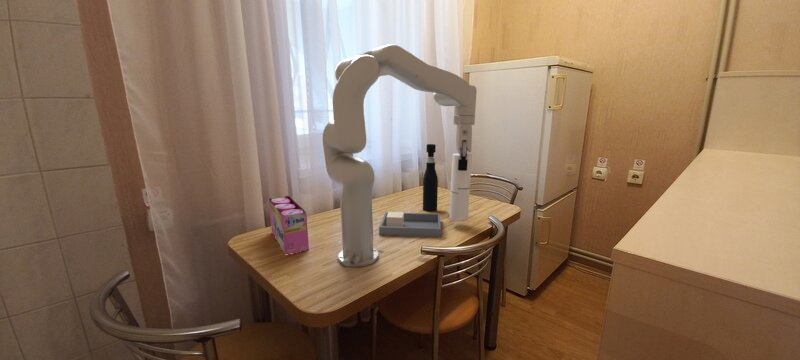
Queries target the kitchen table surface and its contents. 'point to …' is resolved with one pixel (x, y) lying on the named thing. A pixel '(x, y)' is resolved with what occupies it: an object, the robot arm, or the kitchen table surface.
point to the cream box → (395, 219)
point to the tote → (414, 225)
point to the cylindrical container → (460, 189)
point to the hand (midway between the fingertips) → (461, 168)
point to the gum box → (289, 224)
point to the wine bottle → (430, 182)
